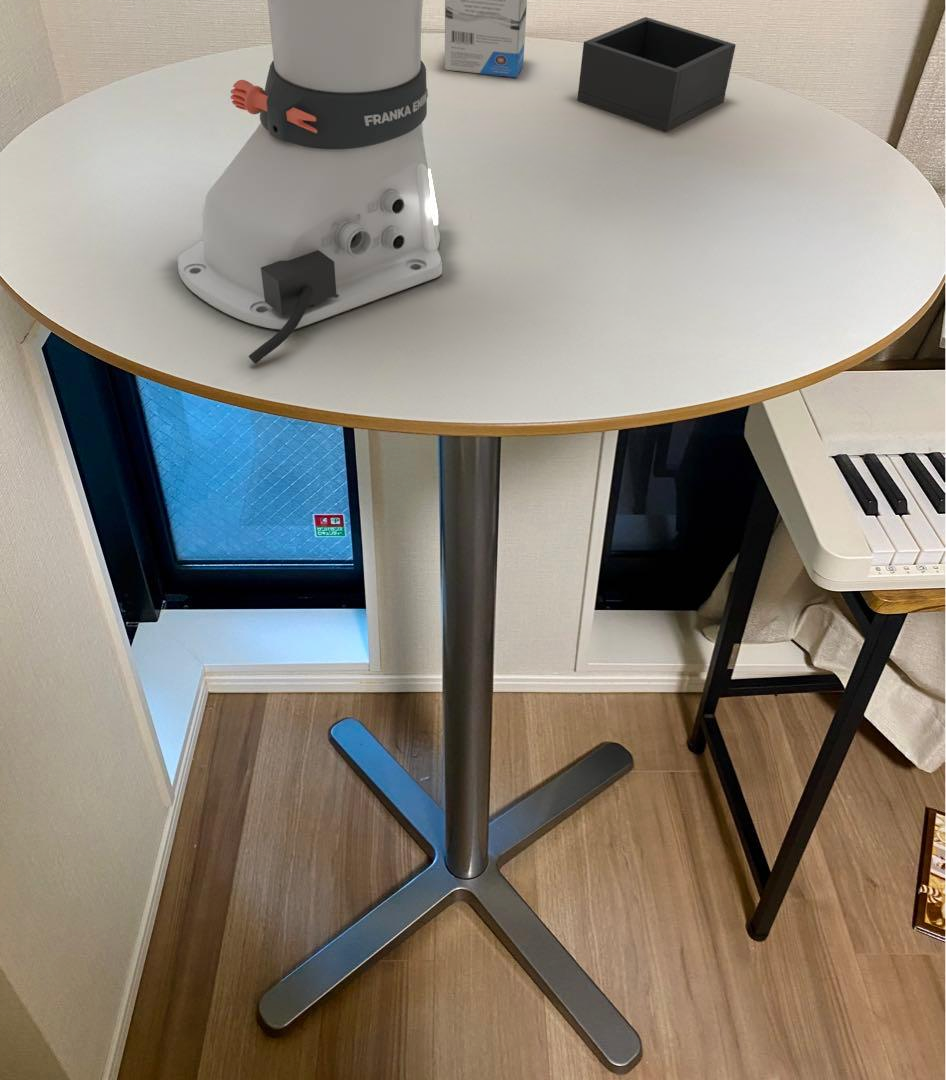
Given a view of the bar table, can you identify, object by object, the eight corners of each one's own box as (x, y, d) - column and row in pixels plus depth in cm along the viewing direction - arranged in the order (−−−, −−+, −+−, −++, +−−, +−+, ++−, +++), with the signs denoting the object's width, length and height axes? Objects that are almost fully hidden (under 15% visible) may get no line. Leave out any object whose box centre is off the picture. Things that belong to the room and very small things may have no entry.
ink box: (524, 64, 115) (533, -50, 107) (516, 79, 111) (524, -37, 103) (452, 55, 116) (455, -59, 108) (442, 70, 113) (444, -46, 104)
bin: (666, 132, 103) (677, 72, 99) (577, 100, 108) (583, 41, 104) (723, 101, 109) (736, 44, 105) (636, 72, 114) (645, 16, 110)
